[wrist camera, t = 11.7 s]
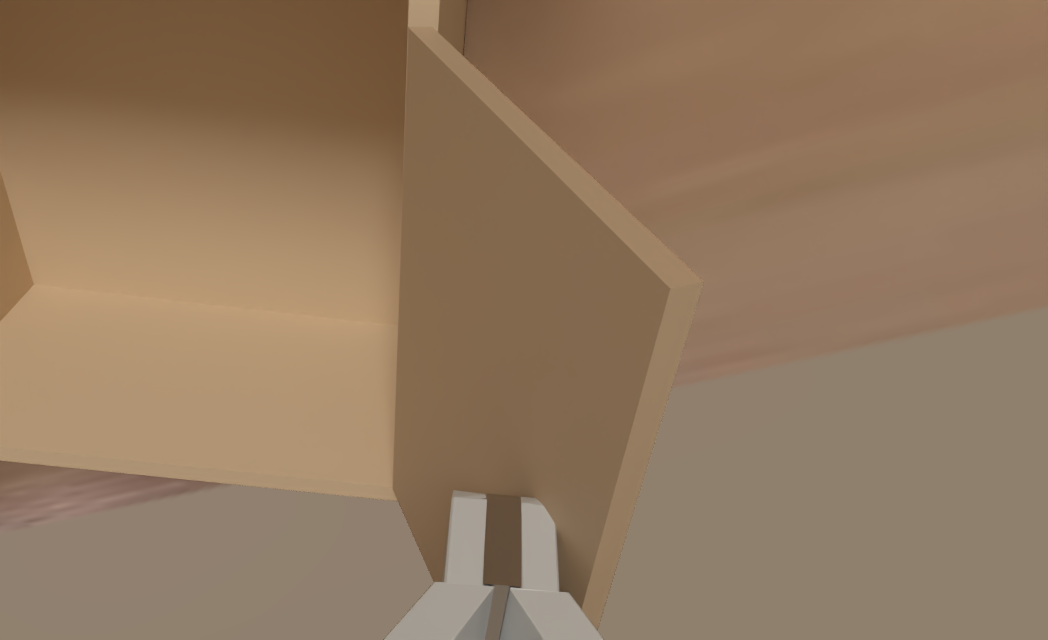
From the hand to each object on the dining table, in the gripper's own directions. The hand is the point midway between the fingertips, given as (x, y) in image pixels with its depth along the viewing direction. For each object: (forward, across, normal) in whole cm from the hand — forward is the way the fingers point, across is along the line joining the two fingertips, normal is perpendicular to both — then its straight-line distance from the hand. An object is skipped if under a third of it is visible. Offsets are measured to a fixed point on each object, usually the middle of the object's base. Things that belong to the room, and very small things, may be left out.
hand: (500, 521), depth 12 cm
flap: (+2, +1, 0) cm, 2 cm away
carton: (+13, +8, 0) cm, 15 cm away
